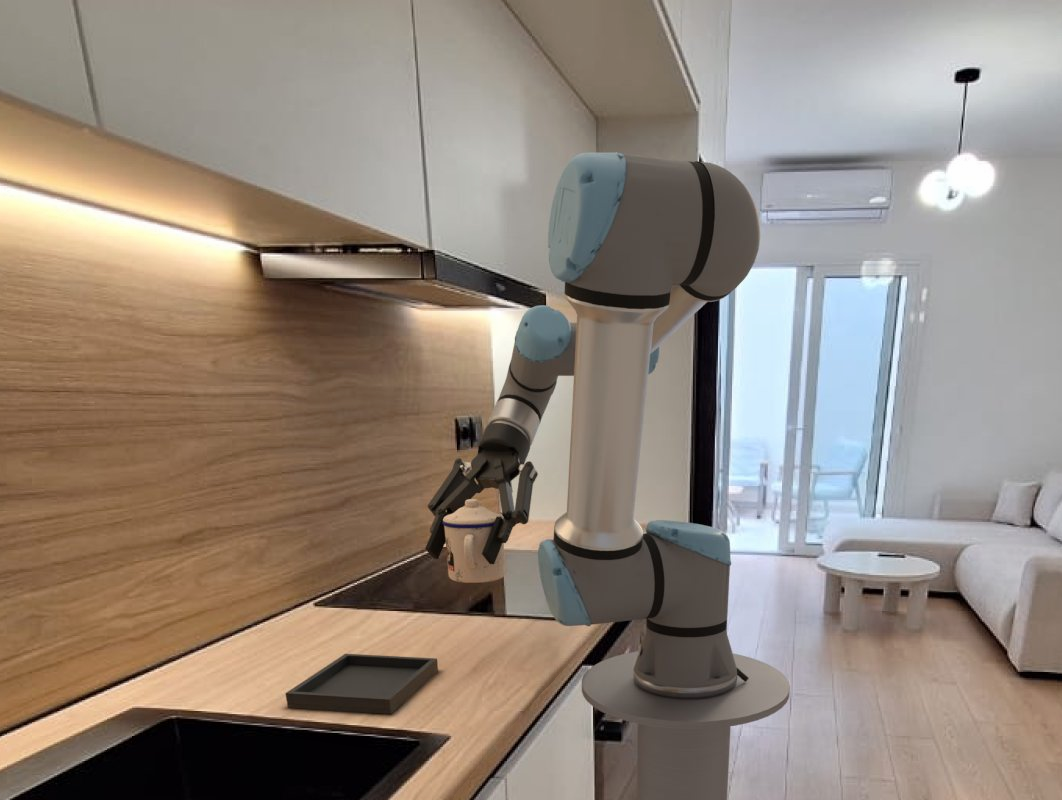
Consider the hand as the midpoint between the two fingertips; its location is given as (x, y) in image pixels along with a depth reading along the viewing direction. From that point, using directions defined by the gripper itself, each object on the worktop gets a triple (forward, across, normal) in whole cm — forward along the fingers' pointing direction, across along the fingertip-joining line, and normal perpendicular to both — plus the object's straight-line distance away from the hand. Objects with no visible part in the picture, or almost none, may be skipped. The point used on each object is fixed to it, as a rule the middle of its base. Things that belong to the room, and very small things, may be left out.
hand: (459, 556), depth 119 cm
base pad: (+22, +7, -1) cm, 23 cm away
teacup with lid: (+1, -1, -5) cm, 5 cm away
